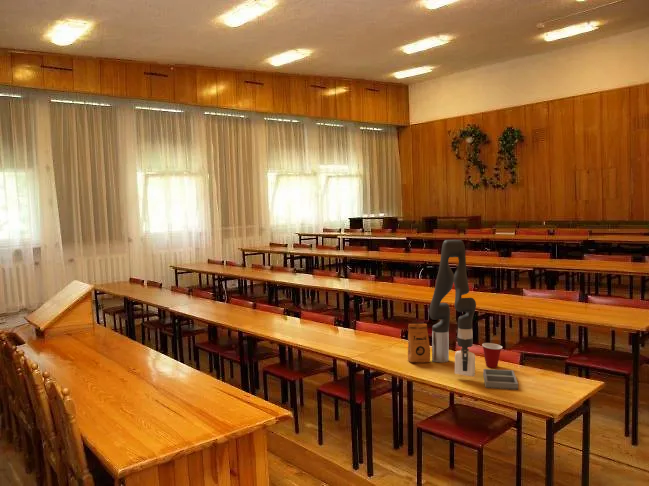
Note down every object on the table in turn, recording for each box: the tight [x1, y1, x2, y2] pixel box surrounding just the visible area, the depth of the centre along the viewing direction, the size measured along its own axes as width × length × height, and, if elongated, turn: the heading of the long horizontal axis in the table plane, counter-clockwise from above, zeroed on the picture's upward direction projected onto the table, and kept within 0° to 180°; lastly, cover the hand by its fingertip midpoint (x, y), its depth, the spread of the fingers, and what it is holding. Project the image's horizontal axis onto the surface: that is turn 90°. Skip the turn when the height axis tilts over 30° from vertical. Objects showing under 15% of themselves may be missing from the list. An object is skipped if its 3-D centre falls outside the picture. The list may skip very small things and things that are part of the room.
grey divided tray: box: [482, 368, 519, 391], centre depth 276 cm, size 15×21×3 cm
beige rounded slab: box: [454, 350, 476, 377], centre depth 280 cm, size 10×4×12 cm, turn 61°
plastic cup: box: [481, 342, 503, 369], centre depth 300 cm, size 11×11×12 cm
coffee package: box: [407, 323, 431, 364], centre depth 312 cm, size 10×12×22 cm
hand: (464, 368), depth 280 cm, fingers closed on beige rounded slab, 5 cm apart
